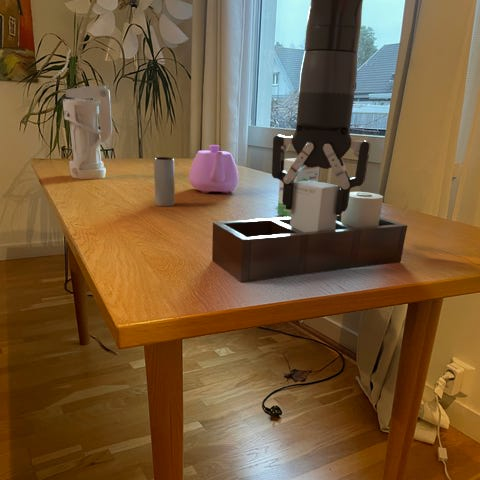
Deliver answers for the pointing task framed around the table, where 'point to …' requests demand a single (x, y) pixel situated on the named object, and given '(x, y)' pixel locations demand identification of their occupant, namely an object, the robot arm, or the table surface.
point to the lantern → (88, 129)
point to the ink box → (304, 175)
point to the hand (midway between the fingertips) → (314, 211)
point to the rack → (302, 247)
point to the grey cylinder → (164, 181)
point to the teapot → (213, 171)
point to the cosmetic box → (314, 206)
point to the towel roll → (363, 210)
